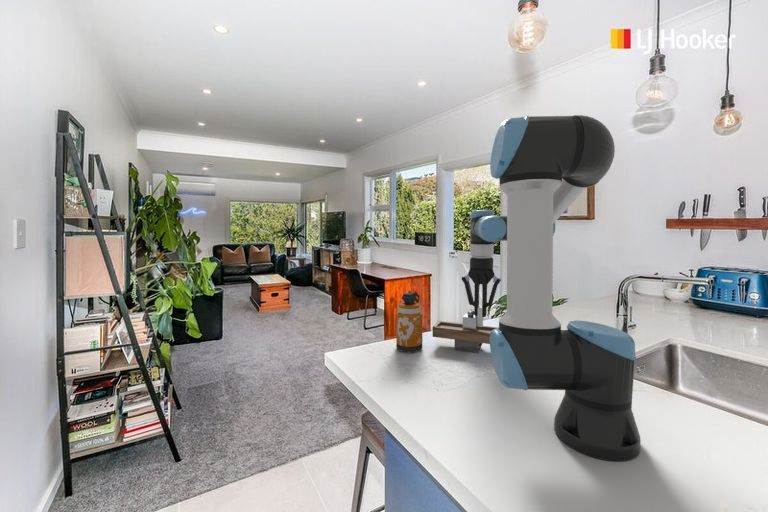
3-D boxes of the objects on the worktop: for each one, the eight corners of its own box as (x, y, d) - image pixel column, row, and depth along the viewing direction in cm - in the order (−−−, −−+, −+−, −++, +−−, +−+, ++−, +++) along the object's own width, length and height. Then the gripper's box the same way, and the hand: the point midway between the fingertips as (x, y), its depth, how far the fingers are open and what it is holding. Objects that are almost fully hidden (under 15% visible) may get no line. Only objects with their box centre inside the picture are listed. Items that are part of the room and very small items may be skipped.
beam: (501, 357, 116) (502, 334, 115) (432, 347, 125) (432, 326, 125) (503, 349, 124) (504, 327, 123) (438, 340, 133) (438, 320, 132)
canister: (391, 351, 123) (391, 293, 121) (405, 341, 132) (405, 287, 130) (416, 355, 119) (416, 295, 117) (428, 345, 128) (428, 289, 126)
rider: (475, 332, 121) (476, 313, 120) (462, 331, 122) (462, 312, 122) (478, 329, 125) (478, 310, 124) (465, 327, 126) (465, 309, 126)
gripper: (503, 256, 120) (501, 324, 123) (464, 254, 126) (463, 320, 128) (500, 258, 114) (498, 331, 116) (459, 257, 119) (458, 326, 121)
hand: (480, 325), depth 122 cm, fingers closed
